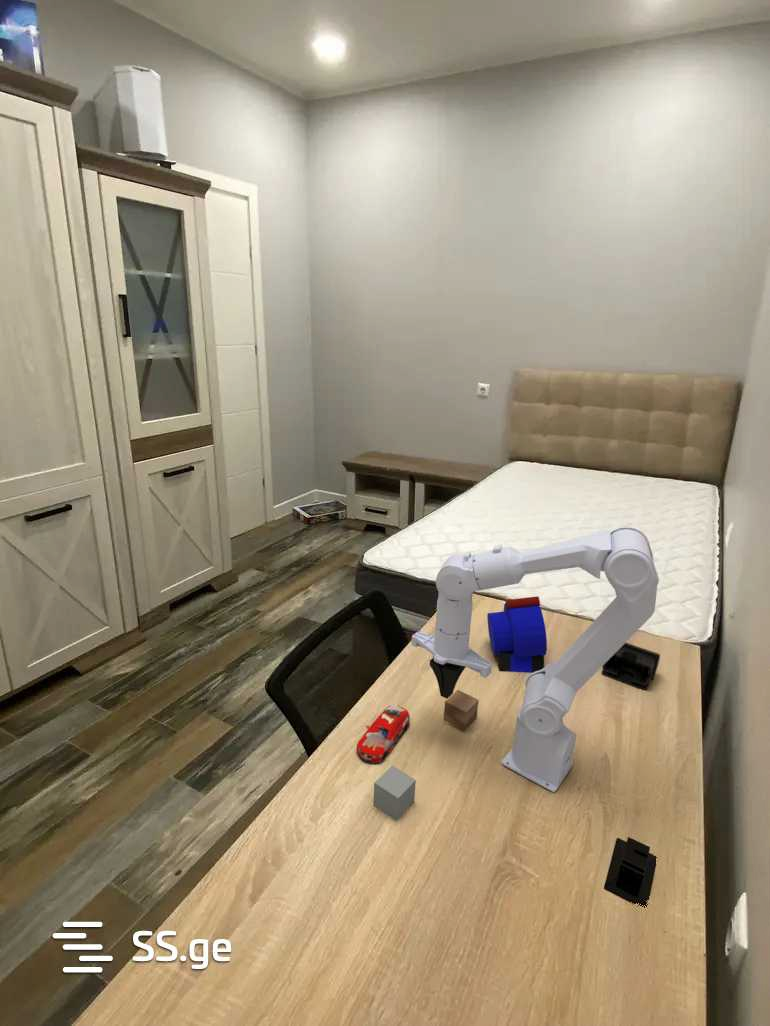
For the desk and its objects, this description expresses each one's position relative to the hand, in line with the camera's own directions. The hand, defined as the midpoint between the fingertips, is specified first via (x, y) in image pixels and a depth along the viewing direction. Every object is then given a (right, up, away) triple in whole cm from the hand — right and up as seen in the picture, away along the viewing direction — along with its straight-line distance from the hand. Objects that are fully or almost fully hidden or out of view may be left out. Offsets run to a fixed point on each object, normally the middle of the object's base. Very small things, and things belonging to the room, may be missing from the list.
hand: (446, 694), depth 97 cm
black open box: (+23, -19, -19) cm, 36 cm away
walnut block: (+3, -7, +8) cm, 11 cm away
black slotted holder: (+41, -4, +23) cm, 48 cm away
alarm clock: (+18, -1, +28) cm, 34 cm away
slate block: (-9, -13, -10) cm, 19 cm away
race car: (-11, -9, +3) cm, 14 cm away
